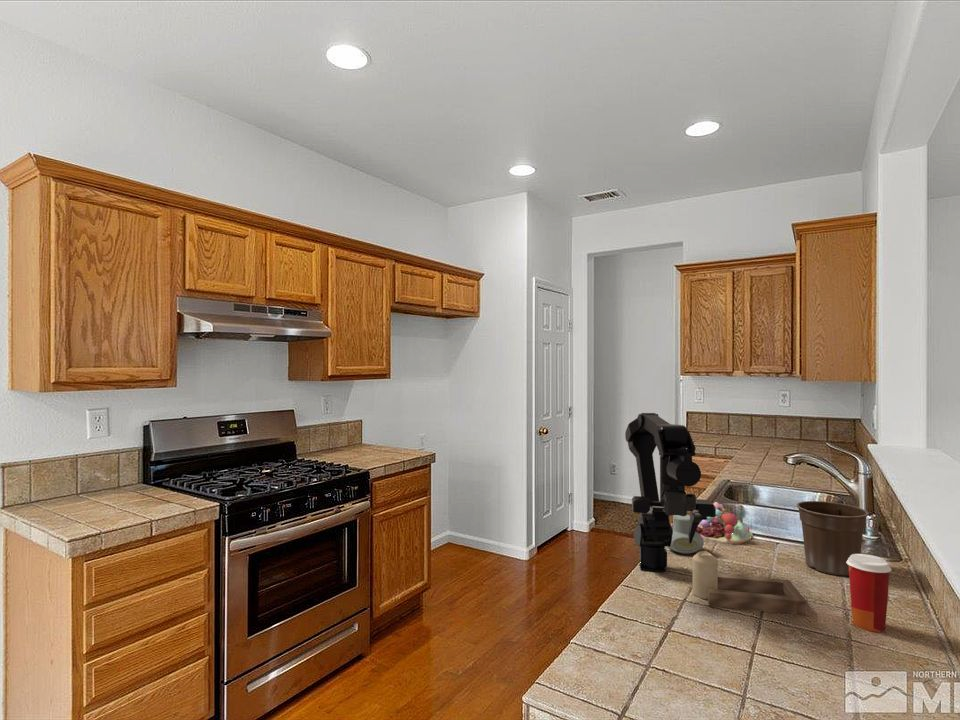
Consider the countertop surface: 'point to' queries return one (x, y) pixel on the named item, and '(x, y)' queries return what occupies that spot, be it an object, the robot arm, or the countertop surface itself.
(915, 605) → the countertop surface
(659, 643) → the countertop surface
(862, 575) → the paper cup
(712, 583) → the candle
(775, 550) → the countertop surface
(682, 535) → the air freshener
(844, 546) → the plant pot
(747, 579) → the u rest
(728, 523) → the candy landscape model
